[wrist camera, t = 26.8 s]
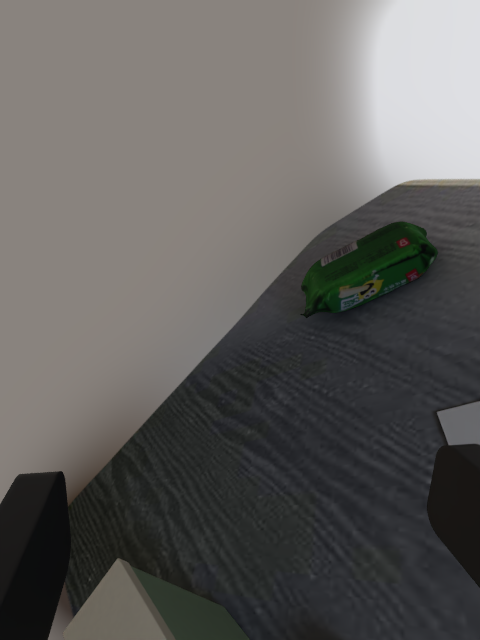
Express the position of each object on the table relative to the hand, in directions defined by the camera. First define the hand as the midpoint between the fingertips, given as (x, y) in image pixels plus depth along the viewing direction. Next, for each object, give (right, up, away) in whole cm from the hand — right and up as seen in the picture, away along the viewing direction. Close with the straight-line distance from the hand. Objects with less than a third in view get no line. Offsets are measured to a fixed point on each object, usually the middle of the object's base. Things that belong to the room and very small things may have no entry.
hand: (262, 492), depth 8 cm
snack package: (+15, +7, +38) cm, 41 cm away
